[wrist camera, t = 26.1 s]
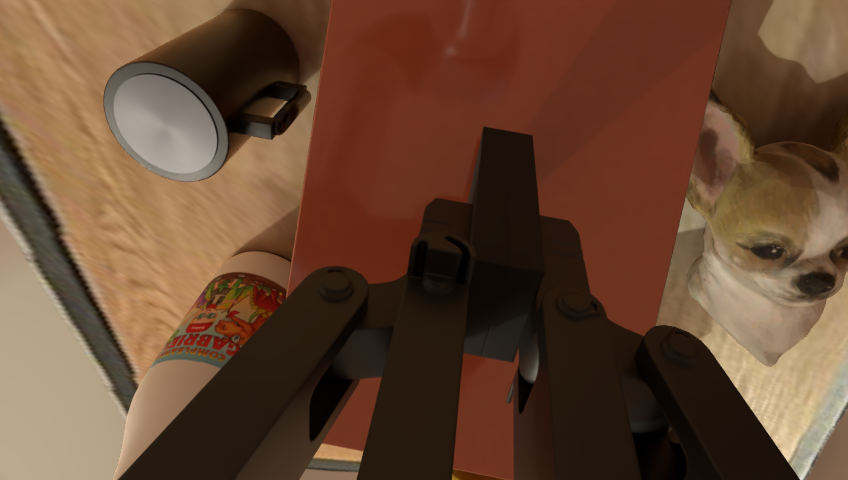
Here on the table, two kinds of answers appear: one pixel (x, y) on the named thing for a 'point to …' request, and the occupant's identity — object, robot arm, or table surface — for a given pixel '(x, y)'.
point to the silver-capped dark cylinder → (206, 95)
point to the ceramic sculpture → (767, 231)
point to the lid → (518, 112)
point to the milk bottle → (204, 344)
